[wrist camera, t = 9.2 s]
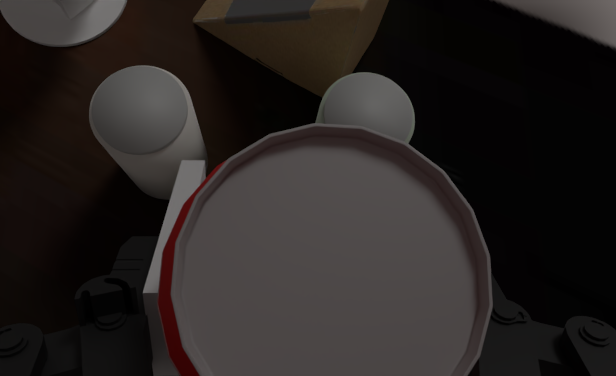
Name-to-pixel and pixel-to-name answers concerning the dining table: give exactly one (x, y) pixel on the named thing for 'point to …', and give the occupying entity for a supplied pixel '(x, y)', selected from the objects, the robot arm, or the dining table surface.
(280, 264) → the beer can
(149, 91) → the off-white tin
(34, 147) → the dining table surface
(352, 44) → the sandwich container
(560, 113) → the dining table surface
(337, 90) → the sage tin
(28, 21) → the white post on disc
